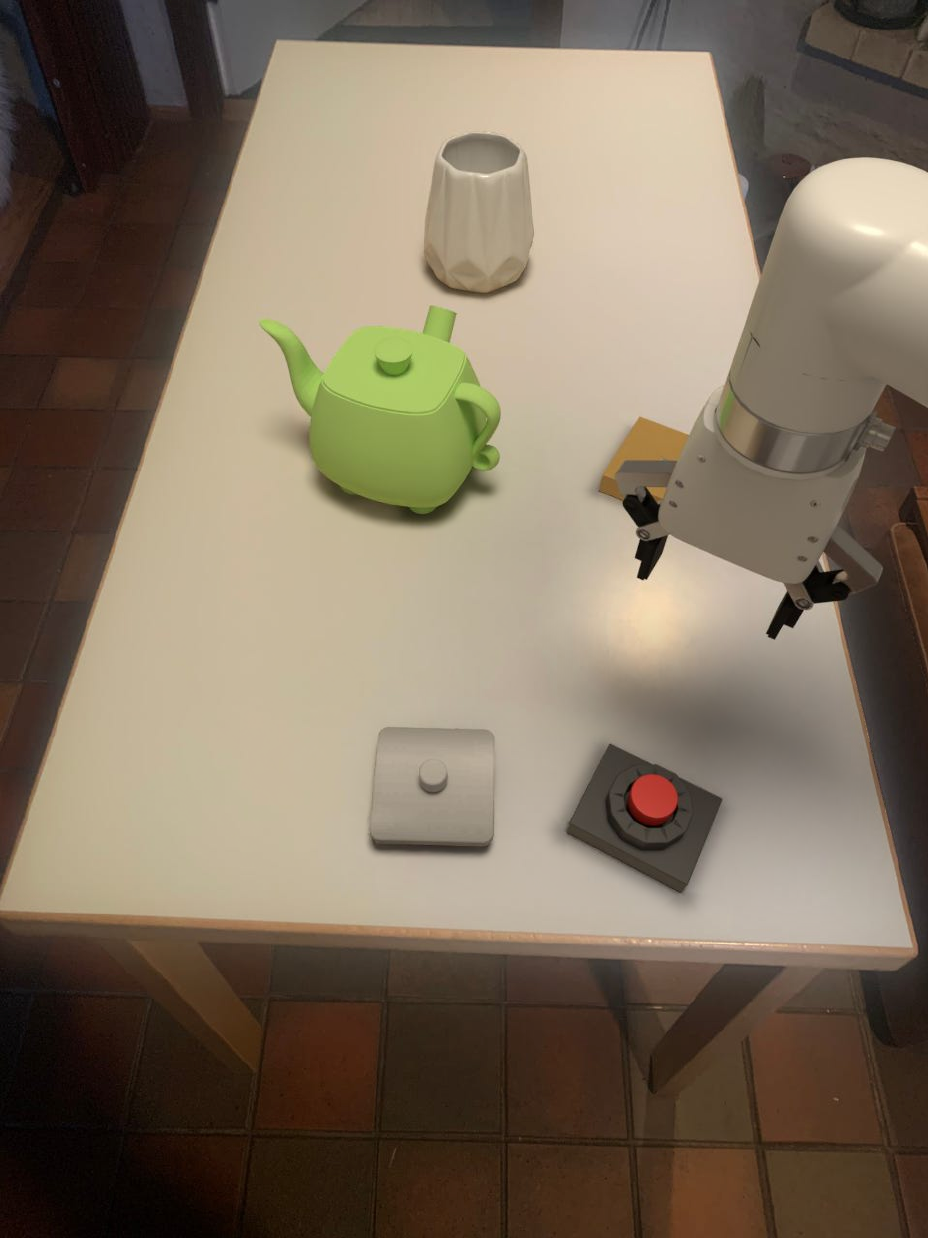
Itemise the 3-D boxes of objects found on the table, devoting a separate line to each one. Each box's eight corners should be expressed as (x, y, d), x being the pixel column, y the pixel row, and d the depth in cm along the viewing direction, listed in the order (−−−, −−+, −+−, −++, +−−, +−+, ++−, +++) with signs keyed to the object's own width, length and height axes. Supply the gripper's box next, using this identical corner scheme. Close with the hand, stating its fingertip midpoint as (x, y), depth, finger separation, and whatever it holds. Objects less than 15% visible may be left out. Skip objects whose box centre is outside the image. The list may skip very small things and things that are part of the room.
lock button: (680, 795, 67) (684, 787, 65) (663, 834, 65) (667, 826, 63) (637, 774, 68) (641, 766, 66) (620, 812, 66) (623, 804, 64)
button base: (716, 808, 70) (729, 789, 67) (681, 893, 66) (693, 878, 63) (605, 753, 73) (613, 733, 69) (566, 832, 69) (571, 814, 65)
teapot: (535, 410, 96) (547, 287, 83) (472, 549, 85) (474, 433, 72) (335, 359, 101) (317, 236, 87) (250, 485, 89) (215, 365, 76)
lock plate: (752, 477, 91) (759, 459, 88) (720, 540, 86) (727, 523, 83) (635, 432, 94) (639, 414, 92) (599, 490, 89) (602, 473, 87)
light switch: (371, 851, 68) (365, 829, 63) (380, 740, 73) (376, 713, 69) (493, 854, 68) (495, 833, 63) (493, 742, 73) (495, 716, 69)
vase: (492, 226, 116) (497, 110, 104) (552, 279, 110) (565, 162, 97) (405, 258, 112) (398, 141, 99) (462, 315, 105) (463, 197, 93)
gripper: (969, 427, 45) (847, 608, 59) (669, 321, 50) (622, 512, 64) (935, 519, 41) (813, 688, 55) (615, 395, 46) (578, 580, 60)
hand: (711, 594), depth 60 cm, fingers open, 9 cm apart
